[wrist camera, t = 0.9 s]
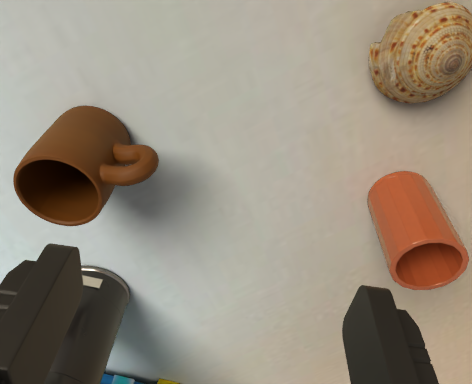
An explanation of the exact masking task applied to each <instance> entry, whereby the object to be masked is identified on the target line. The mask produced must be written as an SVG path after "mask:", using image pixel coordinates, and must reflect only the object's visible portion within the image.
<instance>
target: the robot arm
mask: <svg viewBox="0 0 472 384" xmlns="http://www.w3.org/2000/svg"><path fill="white" fill-rule="evenodd" d="M129 299H130V291H129V288H128V286H127V285H126V283H125V282H124V281H123V280H122V279H121V278H120V277H118V276H117V275H115V274H114V273H112V272H110V271H108V270H105V269H102V268H99V267H93V266H81V261H80V254H79V249H78V248H77V247H72V246H64V245H57V244H48V245H47V246H46V247H45V248H44V250H43V251H42V253H41V255H40V256H39V258H38V260H37V261H29V260H25V261H23V262H22V263H21V264H19V265H18V266H17V267H15V268H14V269H13V270H12V271H10V272H9V273H8V274H7V275H6V277H5V278H4V280H3V281H2V283H1V284H0V384H100V383H101V380H102V377H103V374H104V371H105V368H106V365H107V362H108V359H109V356H110V353H111V350H112V347H113V344H114V341H115V338H116V335H117V332H118V329H119V326H120V323H121V320H122V317H123V314H124V311H125V308H126V306H127V304H128V302H129ZM342 333H343V342H344V348H345V353H346V359H347V364H348V370H349V376H350V381H351V384H439V383H438V380H437V377H436V374H435V371H434V369H433V366H432V364H430V361H431V360H430V357H429V355H428V352H427V349H425V343H424V341H423V338H422V335H421V332H420V329H419V327H418V326H417V324H416V323H415V322H414V320H413V319H412V318H411V316H410V315H409V314H408V313H407V311H406V310H399V309H397V308H396V305H395V302H394V299H393V296H392V293H391V291H390V290H389V289H386V288H378V287H371V286H364V285H362V286H360V287H359V289H358V291H357V293H356V295H355V297H354V299H353V301H352V303H351V305H350V307H349V309H348V311H347V313H346V315H345V318H344V321H343V330H342Z"/></svg>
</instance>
